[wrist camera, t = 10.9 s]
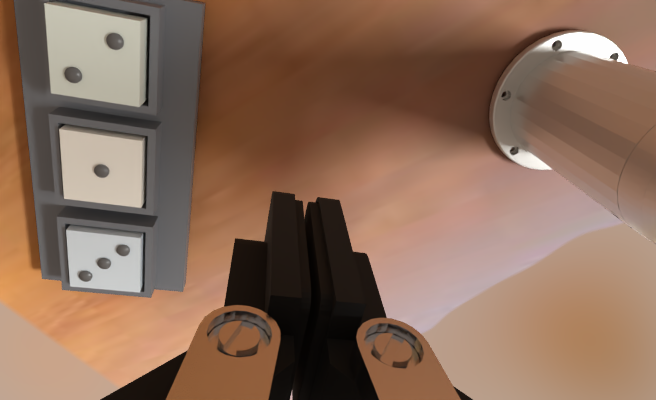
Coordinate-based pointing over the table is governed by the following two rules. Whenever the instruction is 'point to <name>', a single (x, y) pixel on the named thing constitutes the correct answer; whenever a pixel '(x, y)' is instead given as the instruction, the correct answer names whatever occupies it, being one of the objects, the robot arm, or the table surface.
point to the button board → (149, 119)
